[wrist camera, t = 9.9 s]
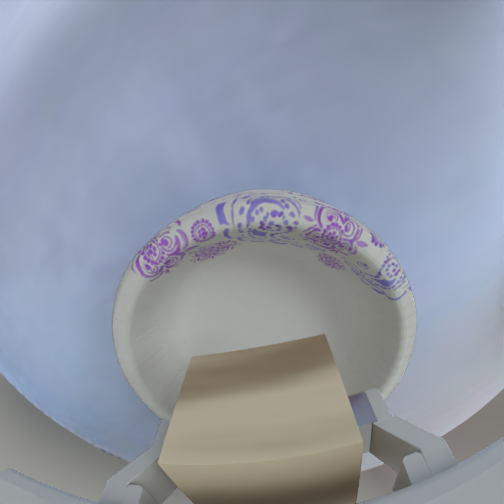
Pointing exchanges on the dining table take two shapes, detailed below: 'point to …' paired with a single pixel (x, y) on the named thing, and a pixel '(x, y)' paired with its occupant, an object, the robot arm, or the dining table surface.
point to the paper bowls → (262, 293)
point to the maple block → (265, 428)
